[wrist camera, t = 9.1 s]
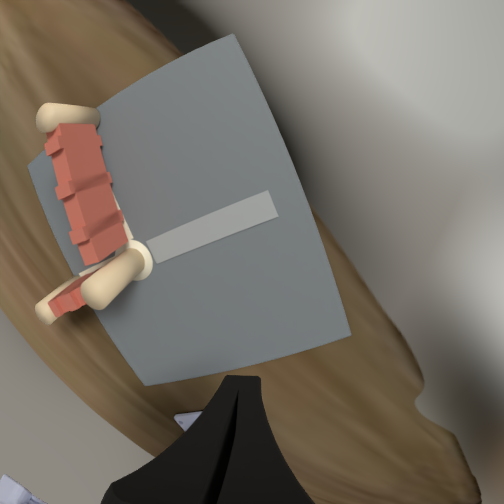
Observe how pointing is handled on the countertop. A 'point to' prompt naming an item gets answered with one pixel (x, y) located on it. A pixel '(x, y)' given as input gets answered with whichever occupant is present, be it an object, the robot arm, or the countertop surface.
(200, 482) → the robot arm
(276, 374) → the countertop surface
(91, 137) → the fence panel
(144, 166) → the board
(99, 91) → the countertop surface
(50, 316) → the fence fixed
